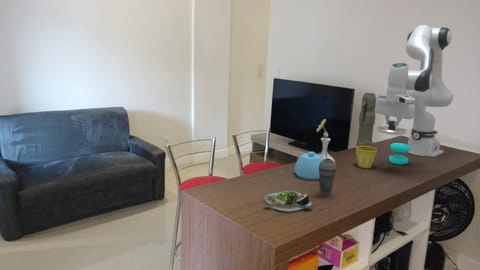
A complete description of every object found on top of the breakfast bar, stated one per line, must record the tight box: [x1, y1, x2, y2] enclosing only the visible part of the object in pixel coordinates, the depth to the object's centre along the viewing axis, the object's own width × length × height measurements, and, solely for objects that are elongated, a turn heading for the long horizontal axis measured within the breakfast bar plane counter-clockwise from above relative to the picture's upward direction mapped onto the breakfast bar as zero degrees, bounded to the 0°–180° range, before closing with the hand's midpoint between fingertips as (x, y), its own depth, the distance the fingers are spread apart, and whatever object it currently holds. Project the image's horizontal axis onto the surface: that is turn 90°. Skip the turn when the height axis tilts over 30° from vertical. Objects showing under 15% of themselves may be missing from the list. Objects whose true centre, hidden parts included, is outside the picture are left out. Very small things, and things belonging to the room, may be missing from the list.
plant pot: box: [355, 146, 378, 169], centre depth 189 cm, size 10×10×10 cm
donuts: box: [388, 142, 410, 166], centre depth 197 cm, size 10×10×10 cm
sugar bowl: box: [293, 151, 322, 181], centre depth 174 cm, size 15×15×12 cm
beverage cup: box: [318, 147, 337, 197], centre depth 151 cm, size 7×7×20 cm
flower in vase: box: [316, 118, 336, 163], centre depth 188 cm, size 13×11×25 cm
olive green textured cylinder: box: [355, 92, 377, 148], centre depth 212 cm, size 9×12×35 cm
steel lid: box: [377, 120, 407, 136], centre depth 180 cm, size 13×13×5 cm
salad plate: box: [264, 190, 314, 213], centre depth 142 cm, size 19×18×5 cm
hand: (392, 125), depth 180 cm, fingers closed on steel lid, 3 cm apart
